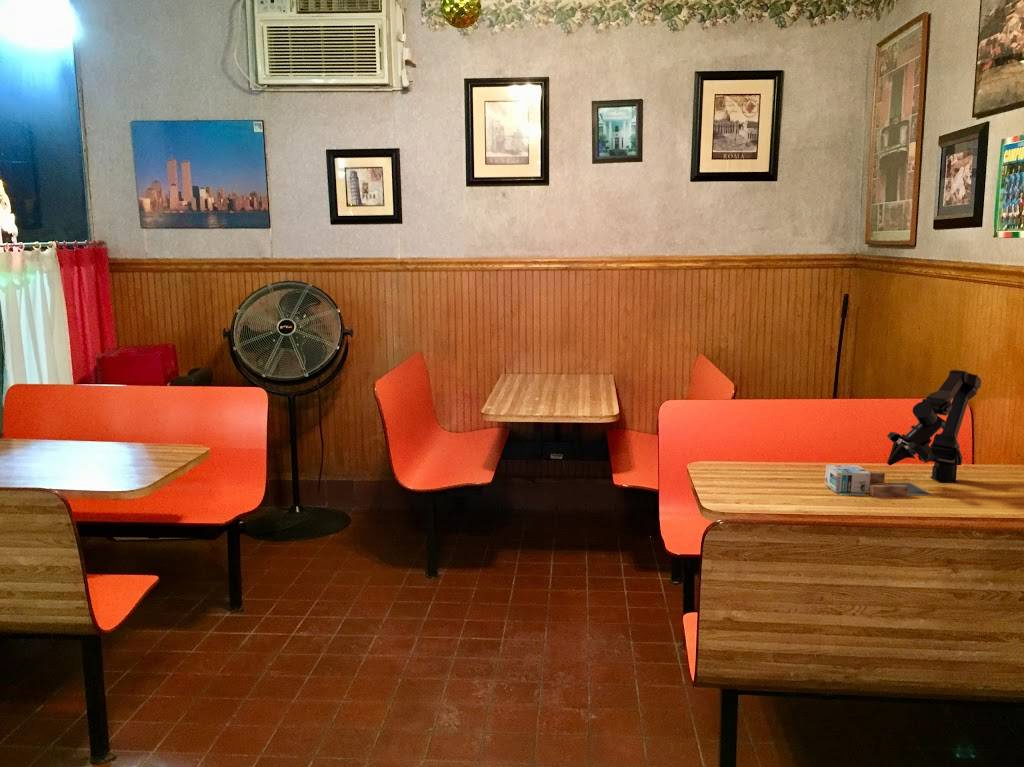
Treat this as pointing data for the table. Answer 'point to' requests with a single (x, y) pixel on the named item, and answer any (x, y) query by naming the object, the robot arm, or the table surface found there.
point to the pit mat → (912, 489)
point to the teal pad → (850, 493)
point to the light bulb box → (847, 478)
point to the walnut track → (885, 487)
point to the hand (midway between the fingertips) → (888, 464)
